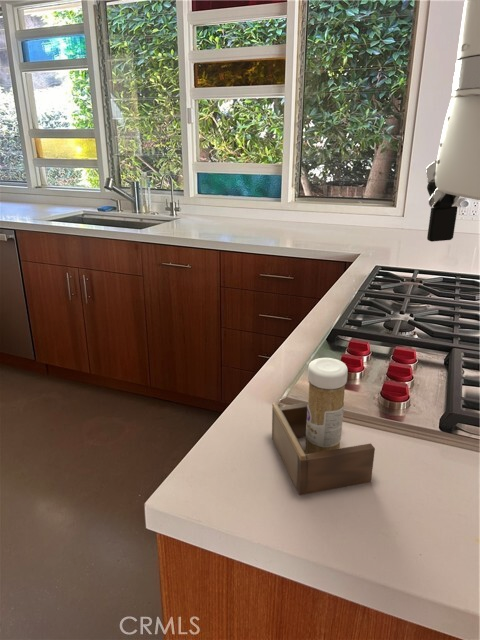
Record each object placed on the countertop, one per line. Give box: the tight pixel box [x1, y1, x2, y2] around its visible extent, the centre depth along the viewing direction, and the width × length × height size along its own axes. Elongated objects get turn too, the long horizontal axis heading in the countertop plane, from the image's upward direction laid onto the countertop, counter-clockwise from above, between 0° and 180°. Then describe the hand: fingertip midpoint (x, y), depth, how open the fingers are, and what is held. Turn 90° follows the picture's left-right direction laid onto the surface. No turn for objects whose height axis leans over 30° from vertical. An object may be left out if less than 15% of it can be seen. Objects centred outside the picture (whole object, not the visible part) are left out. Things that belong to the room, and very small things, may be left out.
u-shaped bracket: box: [271, 401, 376, 496], centre depth 58 cm, size 9×11×6 cm
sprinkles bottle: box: [304, 357, 349, 454], centre depth 56 cm, size 5×5×13 cm
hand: (466, 249), depth 52 cm, fingers open, 9 cm apart
